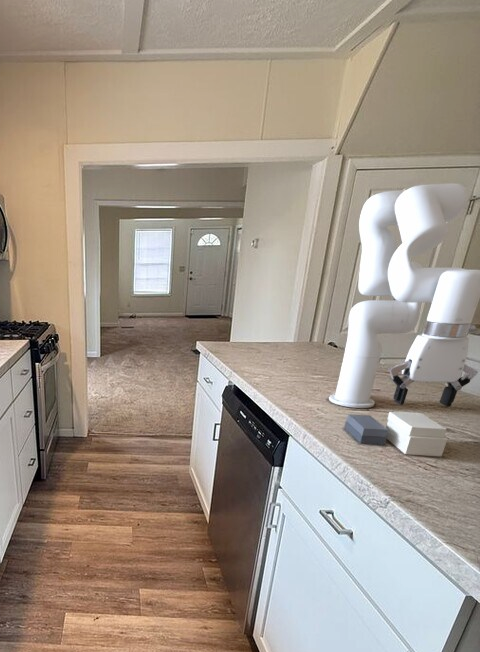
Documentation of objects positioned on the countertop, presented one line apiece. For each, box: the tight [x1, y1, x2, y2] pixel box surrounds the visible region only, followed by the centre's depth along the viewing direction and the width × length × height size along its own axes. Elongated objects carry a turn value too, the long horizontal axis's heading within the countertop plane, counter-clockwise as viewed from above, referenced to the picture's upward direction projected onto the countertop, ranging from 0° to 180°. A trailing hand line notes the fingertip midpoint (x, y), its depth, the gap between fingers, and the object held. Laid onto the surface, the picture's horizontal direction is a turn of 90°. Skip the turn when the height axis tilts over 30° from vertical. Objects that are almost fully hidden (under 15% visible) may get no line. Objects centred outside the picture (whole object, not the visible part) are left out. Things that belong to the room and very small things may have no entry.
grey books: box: [343, 414, 388, 446], centre depth 103 cm, size 11×6×4 cm, turn 169°
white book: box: [386, 411, 447, 438], centre depth 97 cm, size 11×7×2 cm, turn 169°
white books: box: [385, 420, 448, 457], centre depth 97 cm, size 11×8×4 cm
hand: (421, 403), depth 95 cm, fingers open, 9 cm apart
